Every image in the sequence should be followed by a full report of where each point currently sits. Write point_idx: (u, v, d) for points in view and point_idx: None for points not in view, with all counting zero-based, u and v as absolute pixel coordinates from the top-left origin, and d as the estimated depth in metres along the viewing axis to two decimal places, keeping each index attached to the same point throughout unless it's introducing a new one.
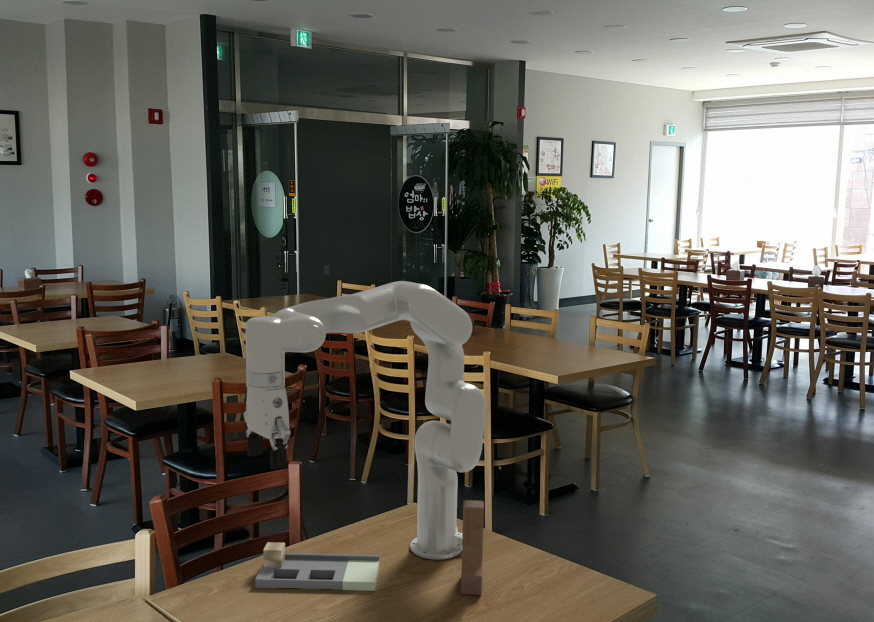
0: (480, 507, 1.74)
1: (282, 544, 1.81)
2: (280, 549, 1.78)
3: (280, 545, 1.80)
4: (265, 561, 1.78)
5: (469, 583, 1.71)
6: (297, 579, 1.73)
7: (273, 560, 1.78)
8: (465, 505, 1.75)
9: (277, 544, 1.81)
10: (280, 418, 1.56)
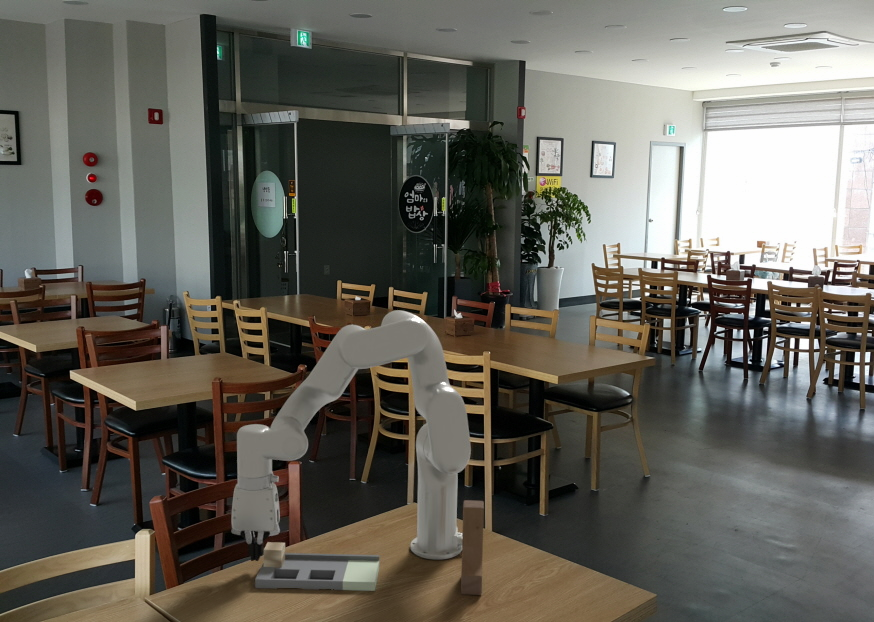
0: (480, 507, 1.74)
1: (282, 544, 1.81)
2: (280, 549, 1.78)
3: (280, 545, 1.80)
4: (265, 561, 1.78)
5: (469, 583, 1.71)
6: (297, 579, 1.73)
7: (273, 560, 1.78)
8: (465, 505, 1.75)
9: (277, 544, 1.81)
10: (278, 510, 1.79)
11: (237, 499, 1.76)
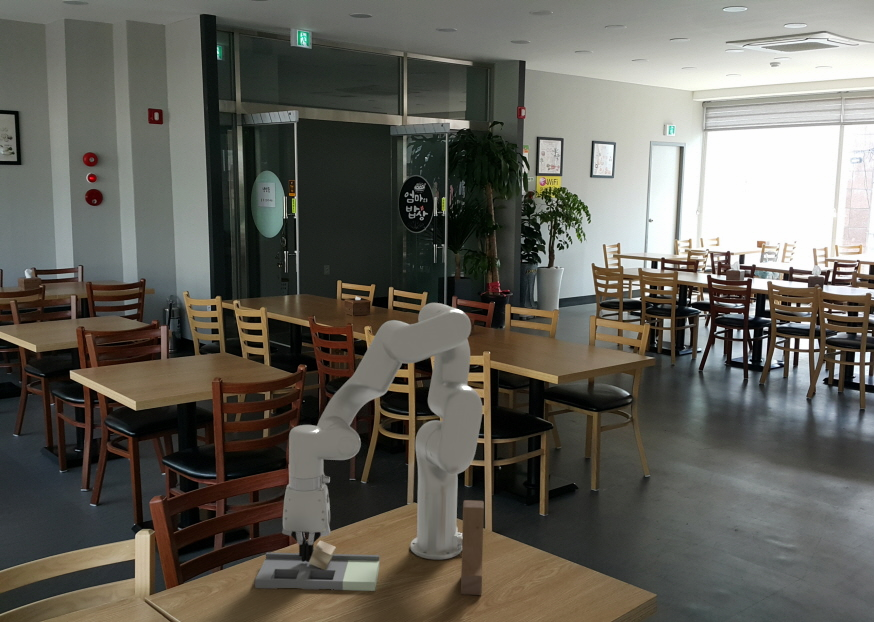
0: (480, 507, 1.74)
1: (333, 548, 1.80)
2: (330, 553, 1.77)
3: (331, 548, 1.79)
4: (312, 558, 1.78)
5: (469, 583, 1.71)
6: (297, 579, 1.73)
7: (320, 560, 1.77)
8: (465, 505, 1.75)
9: (328, 546, 1.80)
10: (329, 511, 1.79)
11: (289, 500, 1.76)
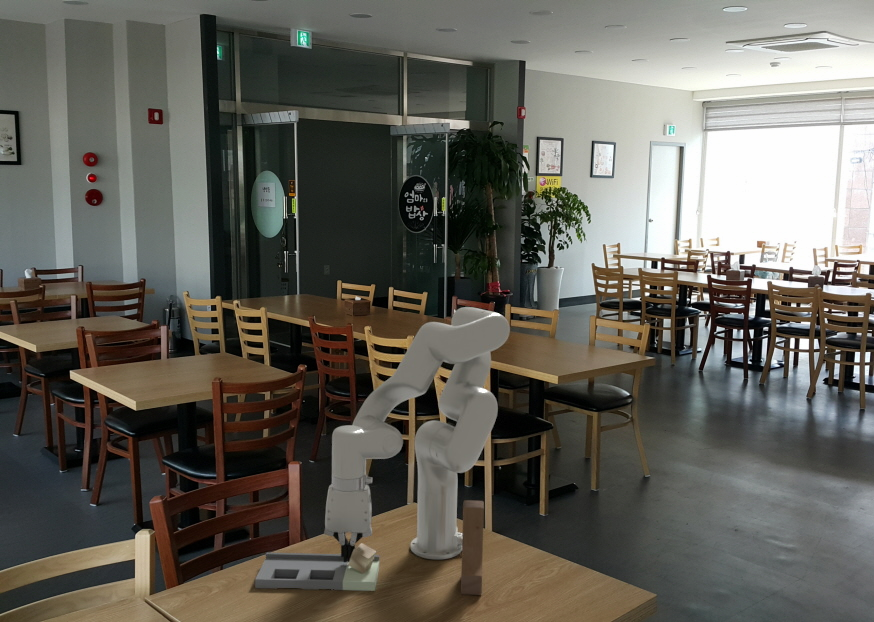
0: (480, 507, 1.74)
1: (373, 552, 1.78)
2: (368, 557, 1.76)
3: (371, 552, 1.78)
4: (351, 561, 1.77)
5: (469, 583, 1.71)
6: (297, 579, 1.73)
7: (358, 563, 1.76)
8: (465, 505, 1.75)
9: (369, 550, 1.78)
10: (371, 511, 1.79)
11: (332, 500, 1.76)
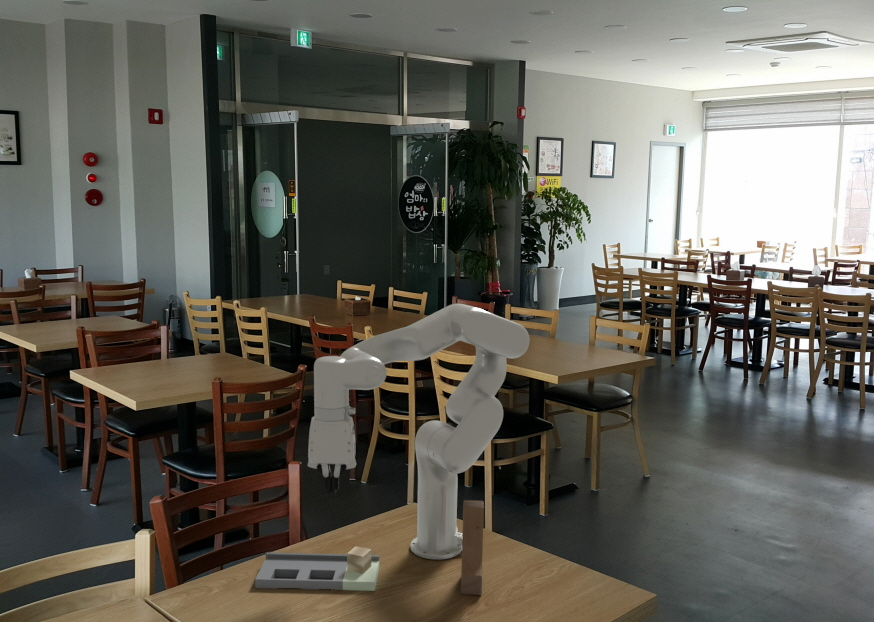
0: (480, 507, 1.74)
1: (368, 550, 1.78)
2: (363, 555, 1.76)
3: (365, 551, 1.78)
4: (348, 565, 1.77)
5: (469, 583, 1.71)
6: (297, 579, 1.73)
7: (356, 565, 1.77)
8: (465, 505, 1.75)
9: (363, 550, 1.79)
10: None
11: (314, 431, 1.74)
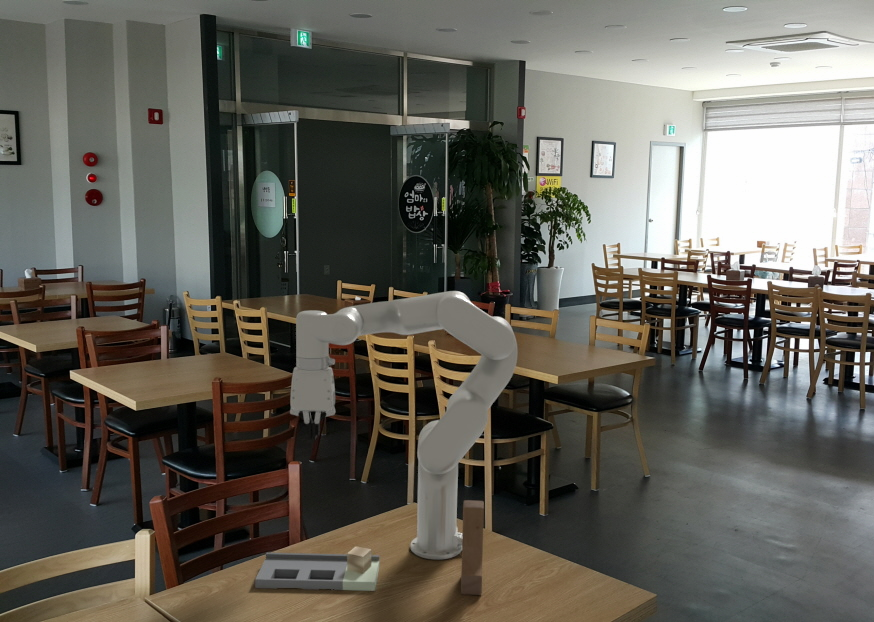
0: (480, 507, 1.74)
1: (368, 550, 1.78)
2: (363, 555, 1.76)
3: (365, 551, 1.78)
4: (348, 565, 1.77)
5: (469, 583, 1.71)
6: (297, 579, 1.73)
7: (356, 565, 1.77)
8: (465, 505, 1.75)
9: (363, 550, 1.79)
10: (334, 392, 1.89)
11: (296, 380, 1.86)
